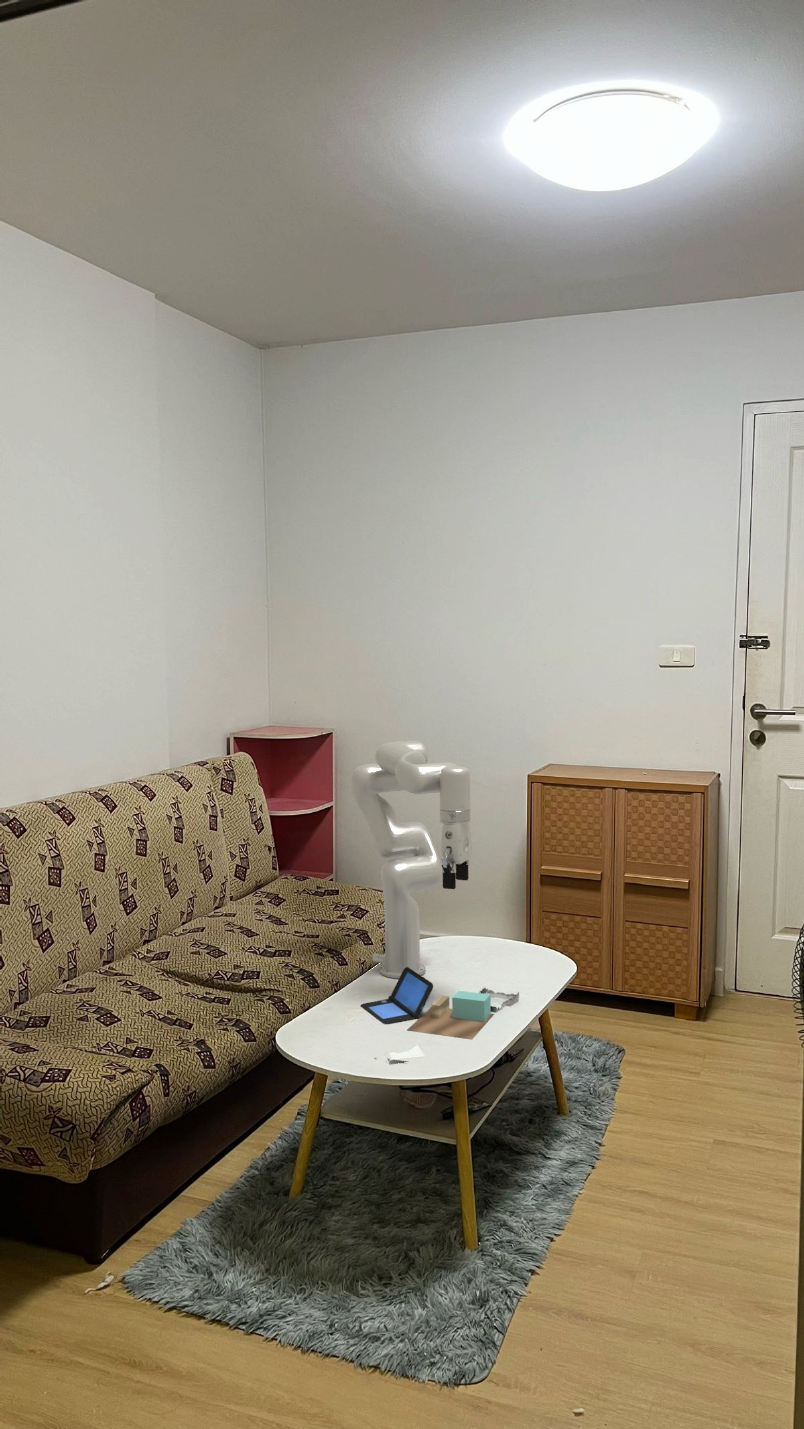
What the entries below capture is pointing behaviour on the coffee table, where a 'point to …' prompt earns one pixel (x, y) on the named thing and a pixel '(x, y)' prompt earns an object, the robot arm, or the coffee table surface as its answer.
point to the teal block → (471, 1006)
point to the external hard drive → (405, 1055)
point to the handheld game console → (402, 999)
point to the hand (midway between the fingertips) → (455, 884)
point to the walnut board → (446, 1022)
